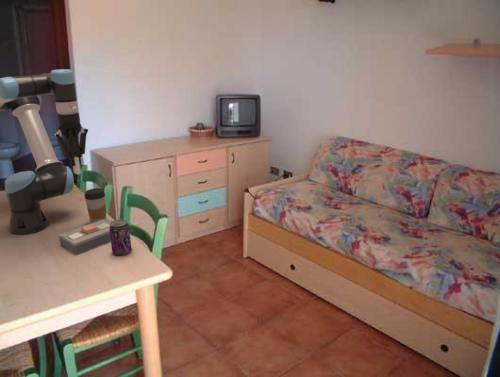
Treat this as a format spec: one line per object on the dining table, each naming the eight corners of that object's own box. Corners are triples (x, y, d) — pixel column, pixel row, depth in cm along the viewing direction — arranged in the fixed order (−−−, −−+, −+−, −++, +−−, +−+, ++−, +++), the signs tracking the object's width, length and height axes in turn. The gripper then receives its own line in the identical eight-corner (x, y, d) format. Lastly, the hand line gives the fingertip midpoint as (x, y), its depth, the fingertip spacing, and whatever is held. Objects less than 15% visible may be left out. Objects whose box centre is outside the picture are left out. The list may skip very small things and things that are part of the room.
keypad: (60, 245, 172) (59, 234, 171) (104, 229, 185) (103, 219, 184) (76, 255, 165) (74, 243, 163) (120, 237, 178) (119, 227, 176)
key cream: (68, 243, 170) (67, 235, 169) (79, 239, 173) (78, 232, 172) (74, 246, 167) (73, 239, 166) (85, 242, 171) (84, 235, 170)
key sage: (96, 232, 178) (95, 226, 177) (105, 229, 181) (104, 222, 180) (101, 236, 176) (100, 229, 175) (111, 232, 179) (110, 225, 178)
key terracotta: (82, 234, 174) (81, 227, 173) (92, 230, 177) (91, 223, 176) (87, 237, 171) (86, 230, 170) (98, 233, 174) (97, 226, 173)
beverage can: (121, 258, 162) (117, 228, 158) (108, 253, 165) (104, 224, 161) (135, 250, 167) (132, 221, 163) (122, 245, 171) (119, 217, 167)
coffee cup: (102, 228, 186) (98, 195, 181) (84, 227, 188) (79, 194, 183) (112, 220, 194) (108, 188, 189) (95, 219, 196) (90, 187, 190)
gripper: (55, 116, 157) (66, 179, 165) (89, 111, 166) (97, 171, 174) (46, 114, 162) (56, 175, 170) (79, 109, 171) (87, 167, 179)
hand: (77, 173), depth 172 cm, fingers closed
